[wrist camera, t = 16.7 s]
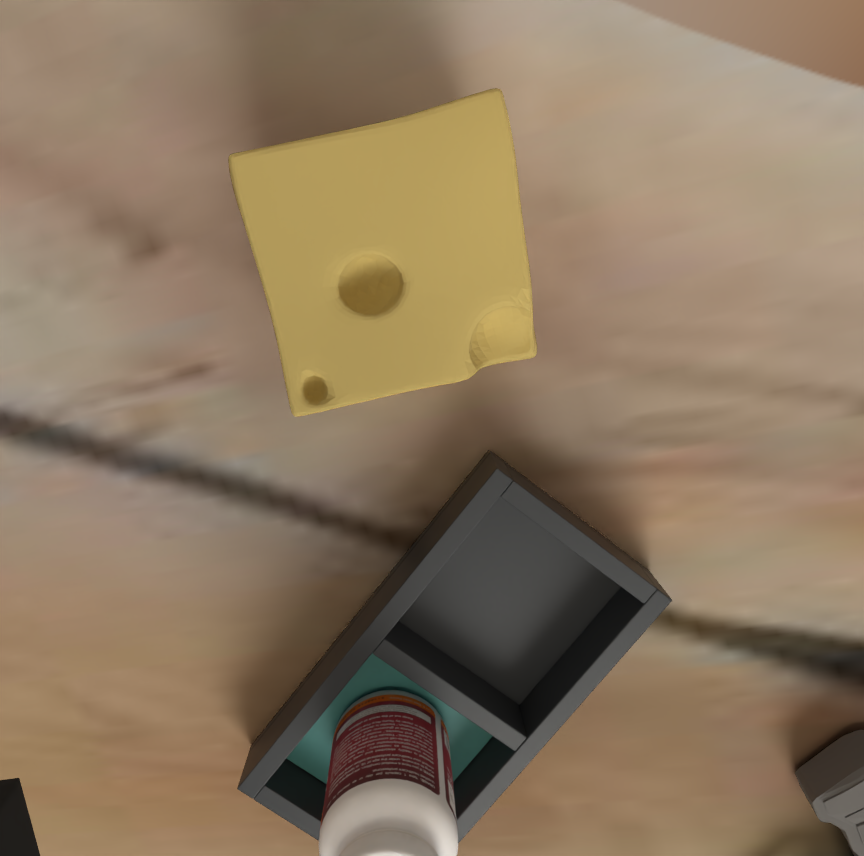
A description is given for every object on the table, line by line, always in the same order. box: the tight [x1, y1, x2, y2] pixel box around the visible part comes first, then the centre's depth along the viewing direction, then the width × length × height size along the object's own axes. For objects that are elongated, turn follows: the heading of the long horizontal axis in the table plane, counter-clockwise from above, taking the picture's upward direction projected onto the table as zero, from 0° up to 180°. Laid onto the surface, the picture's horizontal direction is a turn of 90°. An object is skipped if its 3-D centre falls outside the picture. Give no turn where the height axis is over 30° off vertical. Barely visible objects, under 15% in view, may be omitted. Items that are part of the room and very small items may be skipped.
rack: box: [237, 451, 672, 843], centre depth 40 cm, size 11×21×4 cm, turn 142°
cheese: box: [228, 88, 537, 417], centre depth 33 cm, size 10×11×10 cm
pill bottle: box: [319, 690, 458, 856], centre depth 37 cm, size 6×6×11 cm
